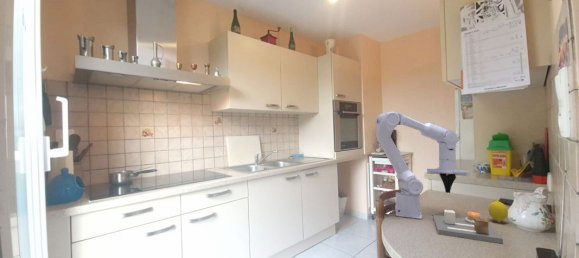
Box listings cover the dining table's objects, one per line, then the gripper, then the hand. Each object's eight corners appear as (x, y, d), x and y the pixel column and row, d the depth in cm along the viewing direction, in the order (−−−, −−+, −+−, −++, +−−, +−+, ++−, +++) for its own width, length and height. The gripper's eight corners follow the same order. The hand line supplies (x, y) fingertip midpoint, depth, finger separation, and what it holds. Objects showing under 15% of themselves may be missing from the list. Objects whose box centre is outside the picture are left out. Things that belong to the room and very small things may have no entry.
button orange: (468, 219, 87) (468, 213, 87) (466, 216, 90) (466, 210, 90) (481, 221, 86) (481, 215, 86) (478, 217, 89) (478, 212, 89)
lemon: (511, 225, 89) (511, 203, 89) (494, 224, 90) (494, 202, 90) (501, 219, 94) (501, 199, 94) (485, 218, 95) (485, 198, 95)
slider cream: (445, 223, 87) (445, 212, 87) (444, 220, 89) (444, 209, 89) (455, 224, 85) (455, 213, 85) (453, 221, 88) (453, 210, 88)
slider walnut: (476, 232, 78) (476, 220, 78) (474, 229, 81) (474, 217, 81) (488, 234, 77) (488, 221, 77) (485, 230, 80) (485, 218, 80)
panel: (438, 234, 82) (438, 226, 82) (433, 218, 96) (432, 212, 96) (502, 243, 74) (502, 235, 74) (486, 225, 89) (486, 218, 89)
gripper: (427, 159, 100) (428, 192, 99) (471, 161, 93) (471, 196, 93) (426, 157, 106) (426, 188, 106) (466, 159, 100) (467, 192, 100)
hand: (447, 192), depth 100 cm, fingers closed
